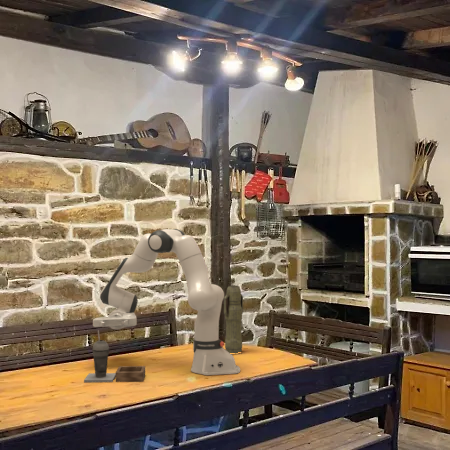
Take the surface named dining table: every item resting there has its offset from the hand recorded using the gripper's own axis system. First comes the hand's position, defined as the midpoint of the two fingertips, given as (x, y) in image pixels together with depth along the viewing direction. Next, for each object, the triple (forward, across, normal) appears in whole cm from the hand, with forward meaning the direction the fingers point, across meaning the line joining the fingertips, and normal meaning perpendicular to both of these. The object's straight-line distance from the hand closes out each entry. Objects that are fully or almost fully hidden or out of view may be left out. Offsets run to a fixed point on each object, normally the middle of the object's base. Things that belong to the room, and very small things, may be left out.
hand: (113, 323), depth 278 cm
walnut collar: (+14, +9, +22) cm, 28 cm away
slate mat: (+14, -4, +22) cm, 26 cm away
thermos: (-39, +57, +23) cm, 73 cm away
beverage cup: (+14, -4, +21) cm, 25 cm away
